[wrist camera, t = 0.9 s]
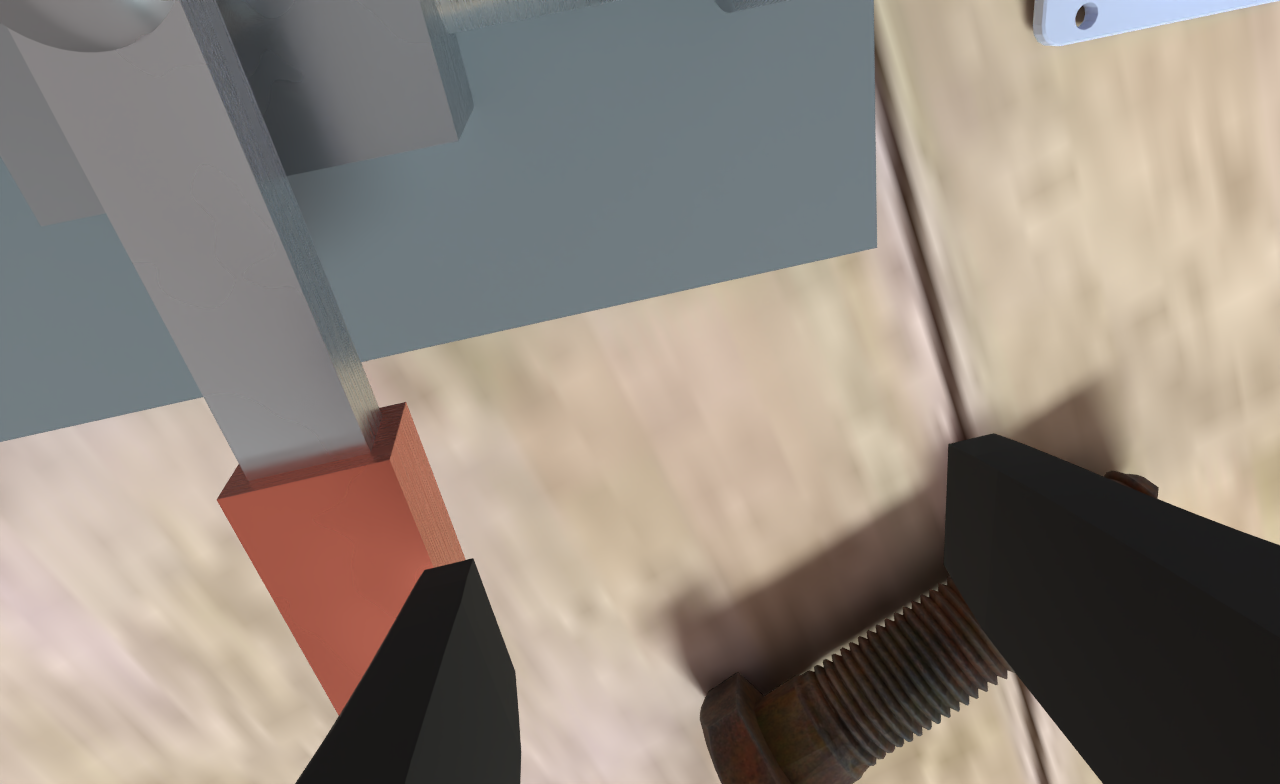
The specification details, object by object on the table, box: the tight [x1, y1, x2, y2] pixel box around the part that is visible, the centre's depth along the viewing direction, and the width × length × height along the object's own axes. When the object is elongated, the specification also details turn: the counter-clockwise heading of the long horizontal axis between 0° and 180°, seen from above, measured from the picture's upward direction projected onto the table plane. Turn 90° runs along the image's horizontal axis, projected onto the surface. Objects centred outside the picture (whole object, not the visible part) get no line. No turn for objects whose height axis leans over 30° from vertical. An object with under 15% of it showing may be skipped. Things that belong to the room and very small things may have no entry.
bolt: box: [700, 471, 1158, 784], centre depth 22 cm, size 6×5×15 cm
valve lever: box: [0, 0, 465, 715], centre depth 9 cm, size 12×2×2 cm, turn 10°
